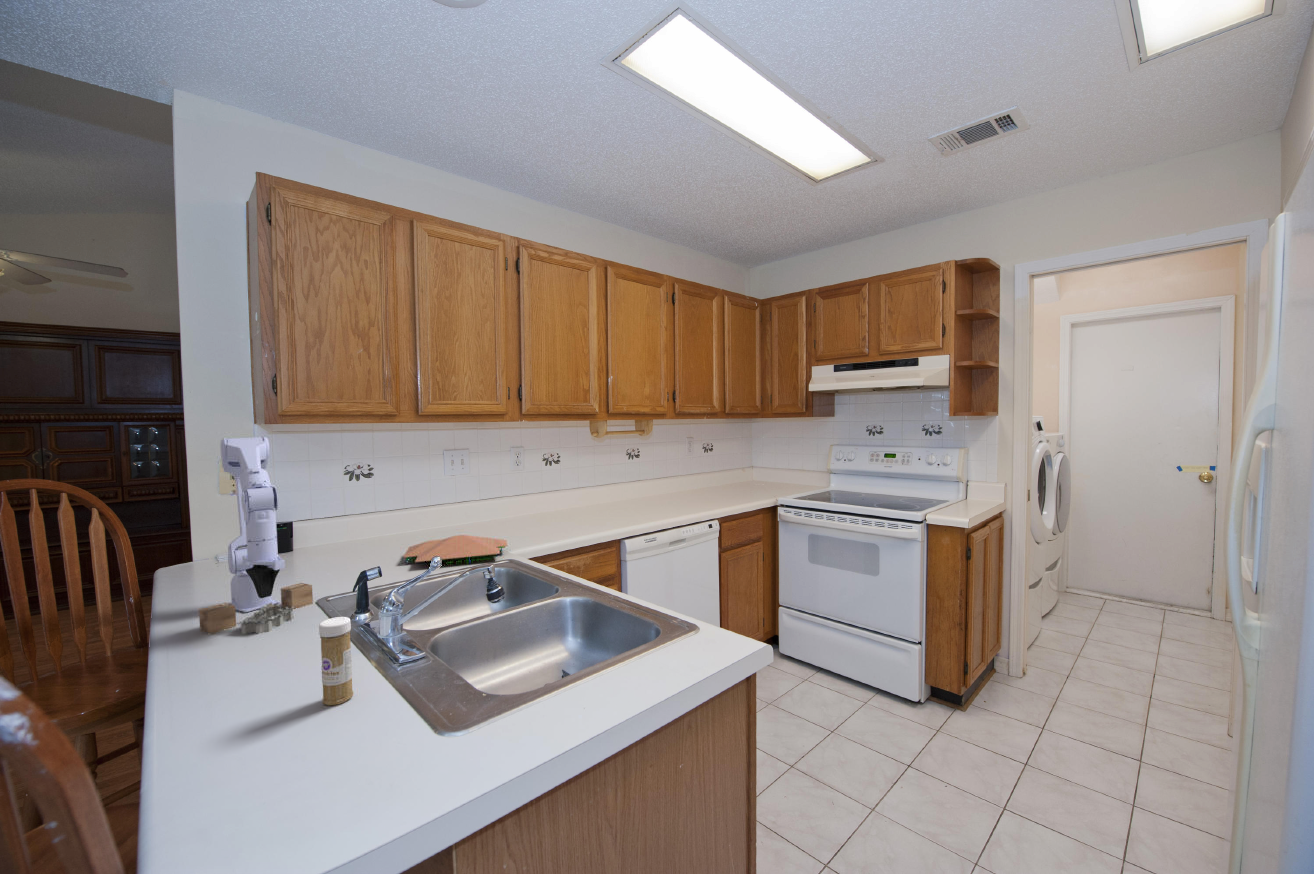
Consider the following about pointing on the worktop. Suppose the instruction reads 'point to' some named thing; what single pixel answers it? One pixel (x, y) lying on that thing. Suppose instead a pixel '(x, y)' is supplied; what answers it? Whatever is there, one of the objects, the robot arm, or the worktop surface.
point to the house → (455, 548)
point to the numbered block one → (296, 595)
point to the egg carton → (266, 619)
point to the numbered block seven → (217, 618)
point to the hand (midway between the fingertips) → (265, 596)
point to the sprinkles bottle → (336, 660)
